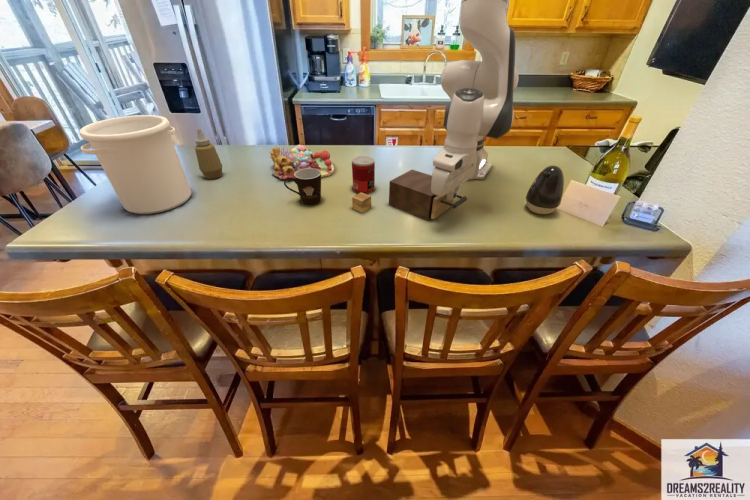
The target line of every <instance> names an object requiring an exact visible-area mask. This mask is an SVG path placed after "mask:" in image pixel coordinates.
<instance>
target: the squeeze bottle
mask: <svg viewBox="0 0 750 500" xmlns="http://www.w3.org/2000/svg"><path fill="white" fill-rule="evenodd" d="M196 132H197V133H196V134H197V138H195V141H194V142H195V144H196V146H195V147H194V150H195V155H196V160H197V163H198V168H199V170H200V172H201V173H202V175H203V177H205V178H206V179H207V180H208V179H210V180H214V179H219V178H220V177H222V175H223V164H222V161H221V159H220V157H219V154H218V152H217V149H216V147H215V145H214V144H213V143H212V142H211V141H210V138H209V137H206V136H205V134H204V132H203V131H202V129H201V128H196Z"/></svg>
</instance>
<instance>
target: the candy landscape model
mask: <svg viewBox="0 0 750 500" xmlns="http://www.w3.org/2000/svg"><path fill="white" fill-rule="evenodd" d="M288 151H289V152H288ZM269 153H270V159H271V160H272V162H273V165H271V167H272V168H273V170H272V172H271V174H272V175H273V176H274V177H277V178H279V180H285V179H286V178H294V179H295V176H294V173H295V172H296V171H298V170H301V169H305V168H314V169H318V170H320V171H321V178H325V177H329V176H331V175H333V174H334V172H335V166H334V164H333V161H332V160H331V153H330V152H329V151H328V150H326V149H323V150H321V151H315V152H313V151H311V149H310V148H308V147H306V146H305V145H304V144H302V145H301V144H297V145H296V146H293V147H291V146H290V147H289V150H288V148H286V150H285V148H284V147H282V148H280V147H278V146H273V148H271V149H270V151H269ZM313 153H314V154H313ZM289 181H290V179H289V180H287V181H286V182H289Z"/></svg>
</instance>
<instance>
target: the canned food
mask: <svg viewBox="0 0 750 500" xmlns="http://www.w3.org/2000/svg"><path fill="white" fill-rule="evenodd" d="M375 163H376V162H375V159H374V158H373V157H371V156H365V155H364V156H363V155H360V156H356V157H353V158H352V159H351V174H352V175H351V176H352V189H353V191H354V192H355V193H357V194H359V193H361V192H362V193H364V194H370V193H372V192H374V190H375V184H376V183H375V179H376V177H375V175H376V174H375V173H376V172H375V171H376V167H375Z"/></svg>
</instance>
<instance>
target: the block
mask: <svg viewBox="0 0 750 500" xmlns="http://www.w3.org/2000/svg"><path fill="white" fill-rule="evenodd" d="M351 205H352V210H355V211H356V212H359V213H361V214H364V213H366V212H367V211H369V210H370V209H372V195H369V194H368V193H365V194H364V193H362V192H361V193H357V194H355V195H352V196H351Z"/></svg>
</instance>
